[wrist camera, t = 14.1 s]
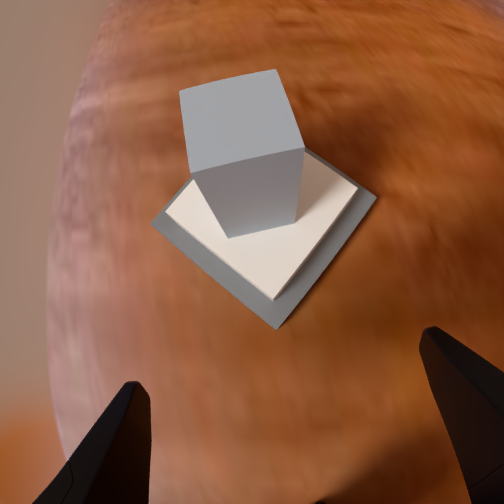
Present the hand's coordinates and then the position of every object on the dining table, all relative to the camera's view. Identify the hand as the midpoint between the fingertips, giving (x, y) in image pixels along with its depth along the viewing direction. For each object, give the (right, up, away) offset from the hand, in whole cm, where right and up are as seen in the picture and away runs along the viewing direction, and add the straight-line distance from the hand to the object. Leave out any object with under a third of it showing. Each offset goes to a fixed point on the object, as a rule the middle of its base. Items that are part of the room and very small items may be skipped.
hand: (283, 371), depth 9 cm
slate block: (-1, +7, +11) cm, 13 cm away
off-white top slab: (0, +6, +14) cm, 15 cm away
